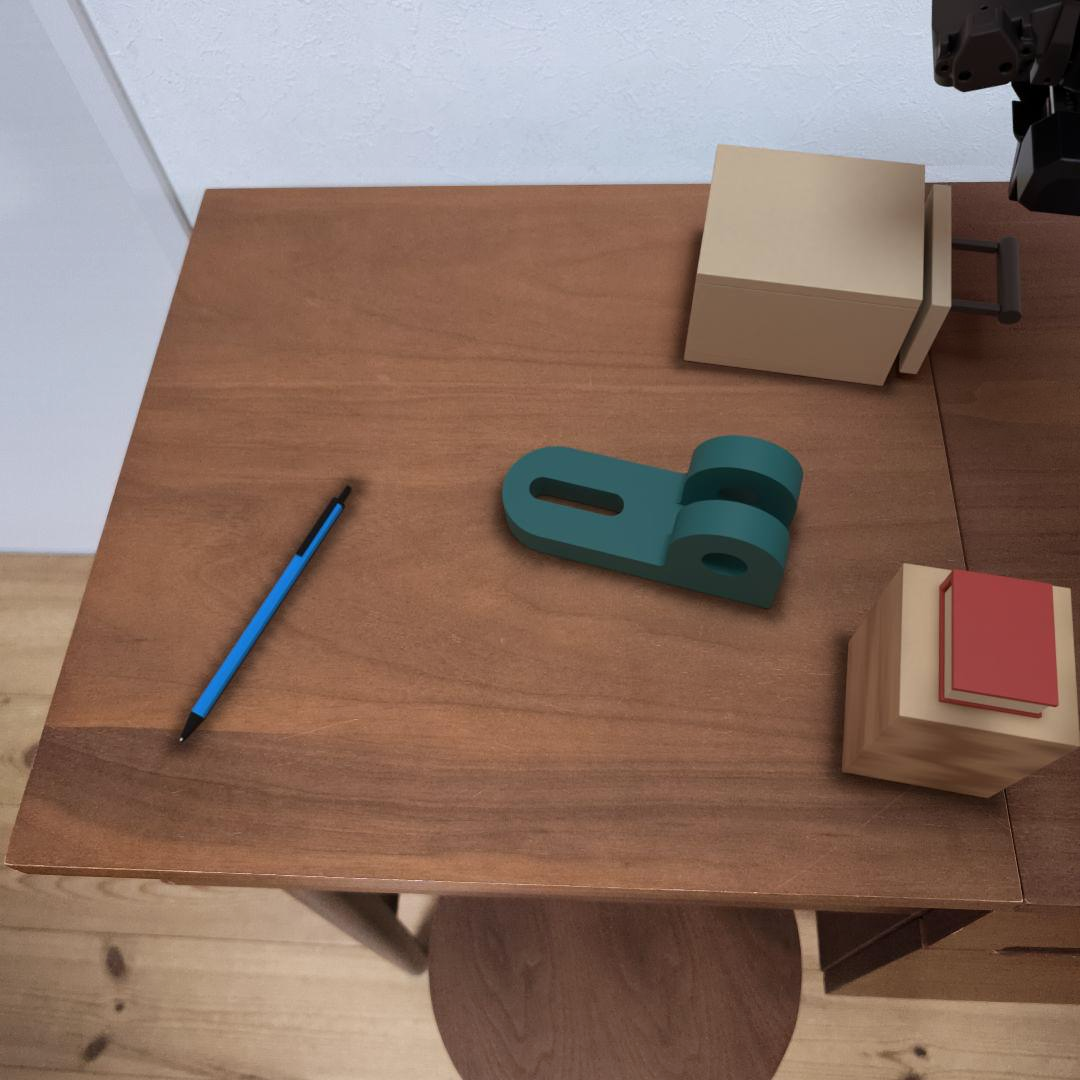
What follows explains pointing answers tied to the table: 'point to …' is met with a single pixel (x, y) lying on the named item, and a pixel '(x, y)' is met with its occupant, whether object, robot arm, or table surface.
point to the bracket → (665, 514)
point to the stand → (937, 727)
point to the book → (997, 643)
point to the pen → (264, 613)
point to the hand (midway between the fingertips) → (1016, 197)
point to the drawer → (939, 280)
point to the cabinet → (808, 264)
